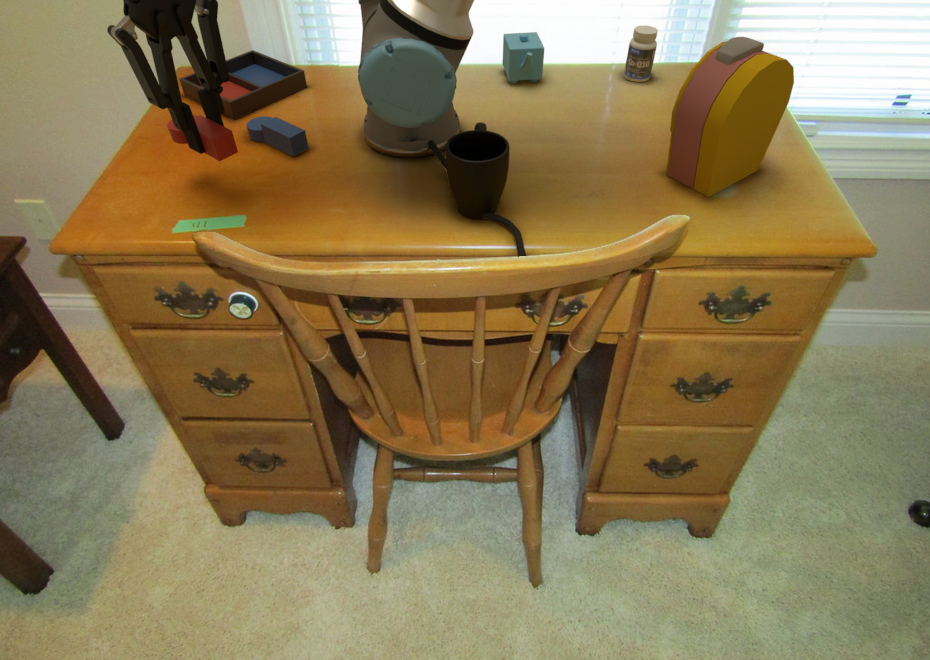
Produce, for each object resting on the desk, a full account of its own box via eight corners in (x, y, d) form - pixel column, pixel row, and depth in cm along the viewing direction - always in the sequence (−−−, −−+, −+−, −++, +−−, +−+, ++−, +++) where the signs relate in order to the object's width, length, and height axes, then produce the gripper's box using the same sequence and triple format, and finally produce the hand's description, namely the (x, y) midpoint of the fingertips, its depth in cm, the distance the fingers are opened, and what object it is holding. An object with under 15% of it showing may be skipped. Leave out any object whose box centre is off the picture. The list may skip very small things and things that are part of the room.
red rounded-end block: (243, 149, 85) (236, 127, 83) (214, 164, 83) (207, 141, 80) (194, 124, 90) (186, 103, 88) (165, 137, 88) (157, 115, 86)
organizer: (307, 86, 114) (304, 70, 112) (234, 119, 106) (229, 102, 103) (256, 65, 121) (252, 49, 119) (184, 95, 112) (178, 78, 110)
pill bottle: (622, 80, 114) (630, 32, 108) (625, 70, 118) (633, 22, 112) (648, 83, 113) (658, 35, 107) (651, 73, 117) (660, 25, 111)
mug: (511, 178, 92) (513, 117, 85) (504, 227, 84) (507, 163, 77) (455, 175, 93) (453, 114, 86) (443, 223, 84) (440, 160, 78)
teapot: (545, 92, 112) (548, 49, 106) (511, 94, 111) (513, 51, 106) (532, 64, 120) (535, 22, 114) (501, 65, 119) (502, 24, 114)
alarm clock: (719, 144, 98) (756, 20, 85) (764, 166, 94) (811, 39, 81) (654, 176, 92) (683, 48, 79) (699, 201, 87) (739, 69, 74)
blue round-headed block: (312, 147, 99) (309, 128, 97) (289, 159, 97) (285, 140, 94) (266, 125, 104) (261, 106, 102) (243, 135, 102) (238, 117, 99)
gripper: (185, -74, 75) (241, 113, 92) (52, -39, 66) (140, 160, 83) (223, -64, 71) (273, 128, 88) (88, -26, 63) (172, 179, 80)
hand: (209, 143), depth 86 cm, fingers closed on red rounded-end block, 3 cm apart
